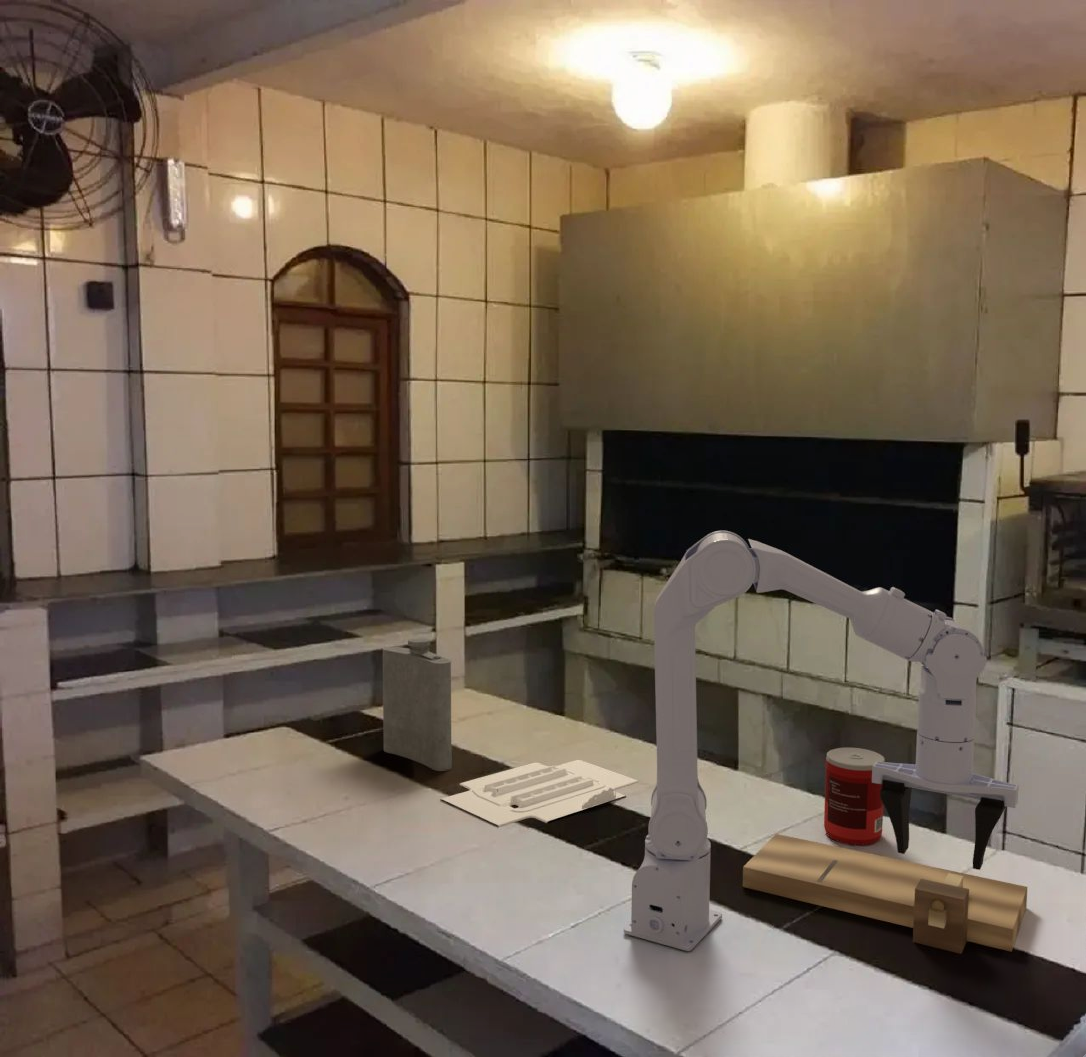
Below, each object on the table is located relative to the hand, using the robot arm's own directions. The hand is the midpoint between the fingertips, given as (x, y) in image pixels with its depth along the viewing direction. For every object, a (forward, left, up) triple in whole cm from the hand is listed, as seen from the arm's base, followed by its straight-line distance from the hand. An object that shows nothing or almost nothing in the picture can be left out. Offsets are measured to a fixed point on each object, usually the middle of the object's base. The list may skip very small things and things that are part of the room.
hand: (939, 858), depth 115 cm
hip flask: (+20, +86, -10) cm, 89 cm away
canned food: (+25, +16, -10) cm, 31 cm away
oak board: (+8, +8, -9) cm, 14 cm away
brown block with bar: (+3, 0, -9) cm, 10 cm away
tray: (+17, +60, -10) cm, 64 cm away
